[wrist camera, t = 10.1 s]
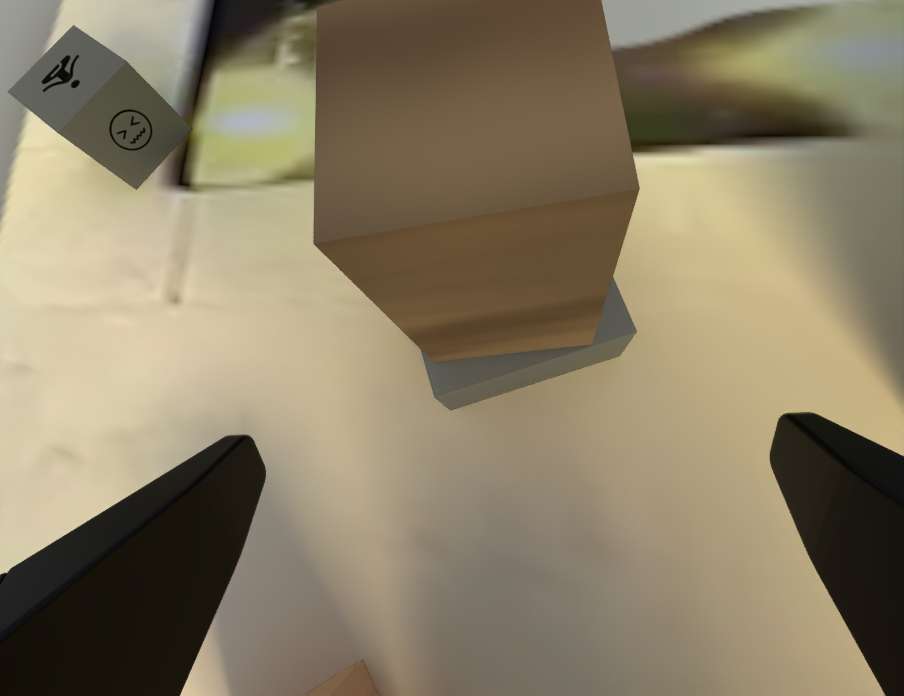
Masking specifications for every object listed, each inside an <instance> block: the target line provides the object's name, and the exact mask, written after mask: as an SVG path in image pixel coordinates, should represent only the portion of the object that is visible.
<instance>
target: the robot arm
mask: <svg viewBox="0 0 904 696" xmlns="http://www.w3.org/2000/svg"><path fill="white" fill-rule="evenodd" d="M770 464H771V467H772V470H773V473H774V475H775V477H776V480H777V482H778V485H779V487H780V489H781V492H782V494H783V496H784V499H785V501H786V504H787V506H788V508H789V511H790V513H791V516H792V518H793V520H794V523H795V525H796V527H797V530H798V532H799V535H800V537H801V539H802V542H803V544H804V546H805V548H806V551H807V553H808V555H809V557H810V559H811V561H812V563H813V565H814V567H815V569H816V571H817V573H818V575H819V576H820V578H821V580H822V582H823V584H824V585H825V587H826V589H827V591H828V593H829V594H830V596H831V598H832V600H833V602H834V603H835V605H836V607H837V609H838V611H839V613H840V614H841V616H842V618H843V620H844V622H845V623H846V625H847V627H848V629H849V631H850V632H851V634H852V636H853V638H854V640H855V641H856V643H857V645H858V647H859V649H860V650H861V652H862V654H863V656H864V658H865V659H866V661H867V663H868V665H869V667H870V669H871V670H872V672H873V674H874V676H875V678H876V679H877V681H878V683H879V685H880V687H881V688H882V690H883V692H884V694H885V696H904V456H902V455H900V454H898V453H896V452H894V451H892V450H889V449H887V448H885V447H883V446H881V445H879V444H877V443H875V442H873V441H871V440H869V439H867V438H865V437H863V436H861V435H859V434H857V433H854V432H852V431H850V430H848V429H846V428H844V427H842V426H840V425H838V424H836V423H834V422H832V421H830V420H828V419H826V418H824V417H822V416H820V415H817V414H815V413H811V412H800V413H785V414H783V415H782V416H781V417H780V418H779V420H778V423H777V427H776V431H775V435H774V438H773V442H772V446H771V450H770ZM265 478H266V469H265V465H264V463H263V461H262V458H261V456H260V454H259V451H258V449H257V447H256V445H255V442H254V440H253V439H252V438H251V437H250V436H249V435H229V436H225V437H224V438H222V439H220V440H219V441H217V442H215V443H214V444H212V445H211V446H209V447H207V448H206V449H204V450H202V451H201V452H199V453H198V454H196V455H194V456H193V457H191V458H189V459H188V460H186V461H185V462H183V463H181V464H180V465H178V466H176V467H175V468H173V469H172V470H170V471H168V472H167V473H165V474H163V475H162V476H160V477H159V478H157V479H155V480H154V481H152V482H151V483H149V484H147V485H146V486H144V487H142V488H141V489H139V490H138V491H136V492H134V493H133V494H131V495H129V496H128V497H126V498H125V499H123V500H121V501H120V502H118V503H116V504H115V505H113V506H112V507H110V508H108V509H107V510H105V511H103V512H102V513H100V514H99V515H97V516H95V517H94V518H92V519H90V520H89V521H87V522H86V523H84V524H82V525H81V526H79V527H77V528H76V529H74V530H73V531H71V532H69V533H68V534H66V535H64V536H63V537H61V538H60V539H58V540H56V541H55V542H53V543H51V544H50V545H48V546H47V547H45V548H43V549H42V550H40V551H38V552H37V553H35V554H34V555H32V556H30V557H29V558H27V559H25V560H24V561H22V562H21V563H19V564H17V565H16V566H14V567H12V568H11V569H10V570H9V571H8V573H3V574H1V575H0V696H180V694H181V692H182V690H183V687H184V685H185V683H186V680H187V678H188V676H189V674H190V671H191V669H192V667H193V664H194V662H195V660H196V657H197V655H198V653H199V651H200V648H201V646H202V644H203V641H204V639H205V637H206V635H207V632H208V630H209V628H210V625H211V623H212V621H213V619H214V616H215V614H216V612H217V609H218V607H219V605H220V602H221V600H222V598H223V596H224V593H225V591H226V589H227V586H228V584H229V582H230V580H231V577H232V575H233V573H234V570H235V568H236V565H237V563H238V561H239V558H240V555H241V553H242V550H243V547H244V544H245V541H246V538H247V535H248V532H249V529H250V526H251V523H252V520H253V517H254V513H255V510H256V507H257V504H258V501H259V498H260V495H261V492H262V489H263V486H264V483H265Z"/></svg>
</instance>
